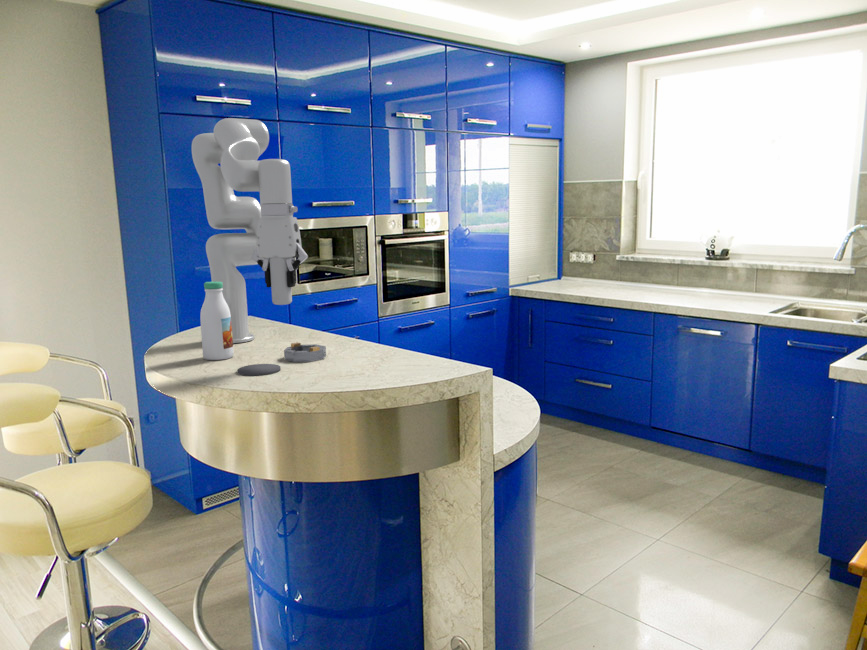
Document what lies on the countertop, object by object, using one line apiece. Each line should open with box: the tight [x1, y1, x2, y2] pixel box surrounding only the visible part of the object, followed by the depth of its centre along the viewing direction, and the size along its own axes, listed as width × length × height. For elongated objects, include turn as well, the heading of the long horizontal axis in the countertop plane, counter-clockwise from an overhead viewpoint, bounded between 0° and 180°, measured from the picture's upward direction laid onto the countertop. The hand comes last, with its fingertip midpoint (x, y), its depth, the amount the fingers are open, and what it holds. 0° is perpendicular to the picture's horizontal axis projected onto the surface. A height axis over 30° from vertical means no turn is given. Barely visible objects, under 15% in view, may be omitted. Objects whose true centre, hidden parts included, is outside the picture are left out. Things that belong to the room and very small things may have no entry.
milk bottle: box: [199, 281, 235, 361], centre depth 178 cm, size 8×8×20 cm
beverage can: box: [270, 256, 293, 306], centre depth 168 cm, size 5×5×12 cm
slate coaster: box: [236, 363, 281, 377], centre depth 164 cm, size 10×10×1 cm
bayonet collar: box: [283, 342, 327, 363], centre depth 178 cm, size 10×10×3 cm
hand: (281, 286), depth 168 cm, fingers closed on beverage can, 4 cm apart
